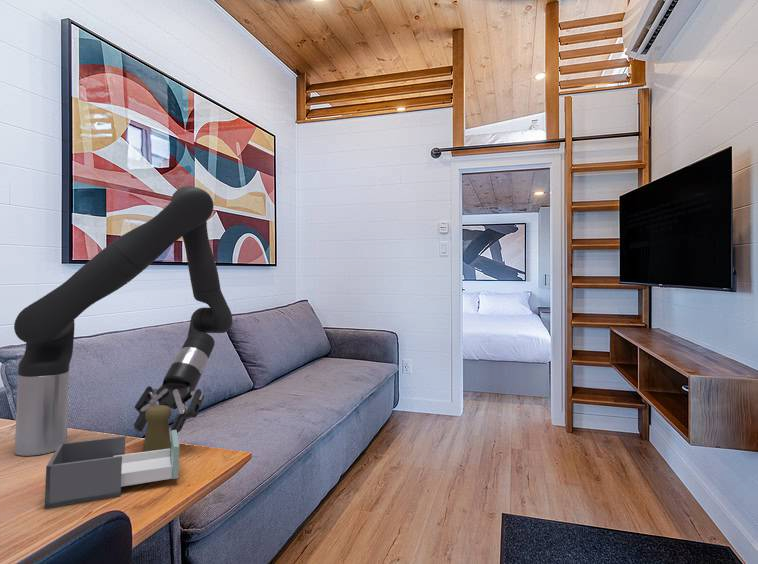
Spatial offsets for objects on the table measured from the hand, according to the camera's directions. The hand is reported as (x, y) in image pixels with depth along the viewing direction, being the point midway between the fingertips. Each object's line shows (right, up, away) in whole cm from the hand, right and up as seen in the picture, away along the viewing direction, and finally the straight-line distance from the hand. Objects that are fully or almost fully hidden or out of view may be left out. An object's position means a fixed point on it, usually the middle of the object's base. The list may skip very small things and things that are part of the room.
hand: (155, 431), depth 95 cm
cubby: (-4, -5, -15) cm, 16 cm away
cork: (0, -6, +1) cm, 6 cm away
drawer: (+4, -4, -11) cm, 12 cm away
